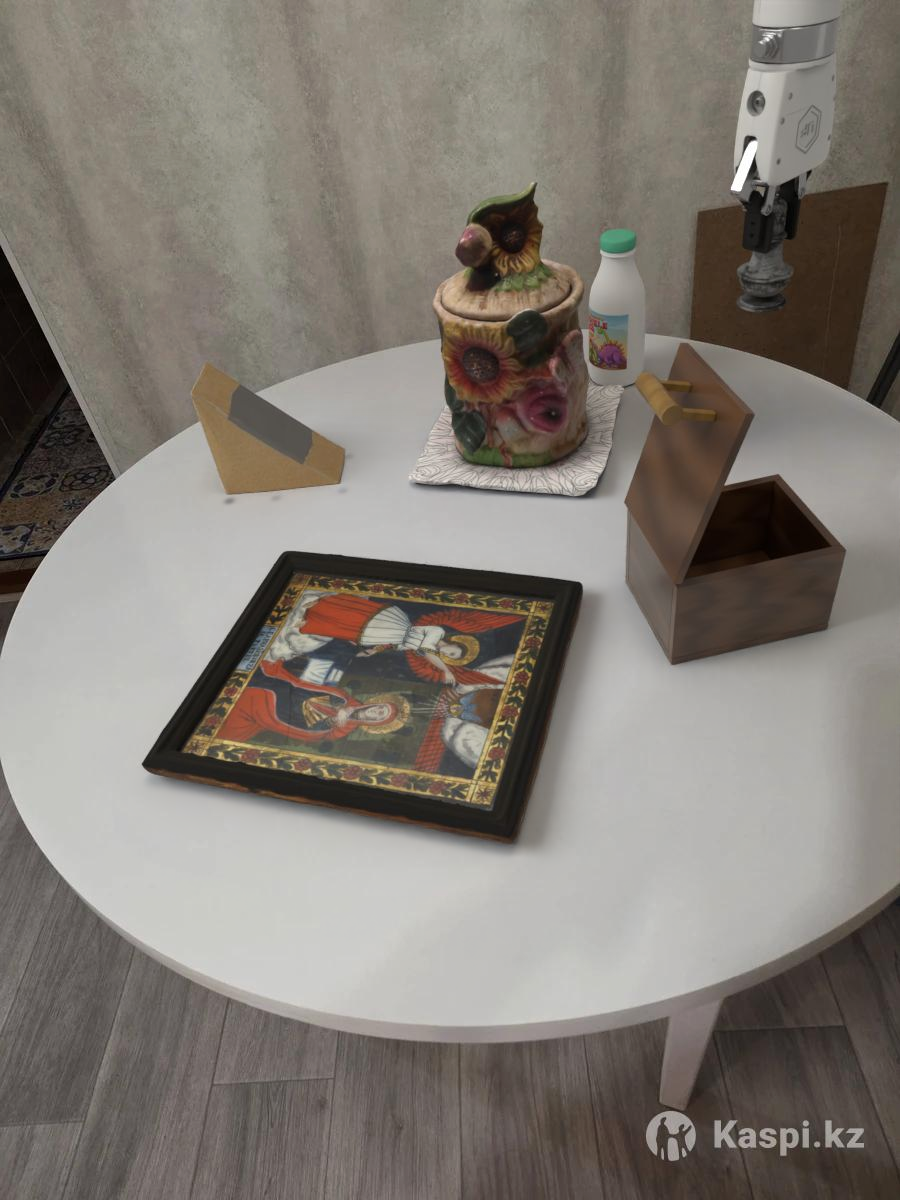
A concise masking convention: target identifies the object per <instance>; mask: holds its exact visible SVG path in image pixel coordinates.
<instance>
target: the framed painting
mask: <svg viewBox="0 0 900 1200" xmlns="http://www.w3.org/2000/svg"><path fill="white" fill-rule="evenodd" d="M583 594H584V585H583V583H582V582H581V581H576V580H569V579H564V578H563V579H562V578H555V577H548V576H540V575H531V574H523V573H522V574H521V573H515V572H505V571H498V570H497V571H496V570H487V569H476V568H466V567H457V566H449V565H436V564H429V563H417V562H406V561H398V560H397V561H396V560H387V559H378V558H370V557H369V558H368V557H361V556H360V557H359V556H349V555H343V554H337V553H335V554H334V553H320V552H310V551H299V550H285V551H283V552H282V553H280V555H279V557H278V558H277V559H276V561H275V562H274V564H273V565H272V566H271V569H269V571H268V573H267V574H266V575H265V578H264V579H263V580H262V582H261V584H260V585H259V586H258V588H257V590H256V591H255V592H254V594H253V595H252V597H251V599H250V600H249V602H248V603H247V604H246V606H245V608H244V609H243V611H242V612H241V614H240V615H239V616H238V617H237V619H236V621H235V623H234V624H233V626H232V627H231V629H230V630H229V631H228V633H227V635H226V636H225V638H224V639H223V641H222V642H221V643H220V645H219V647H218V648H217V649H216V651H215V652H214V654H213V655H212V657H211V659H210V660H209V661H208V663H207V665H206V666H205V668H204V669H203V671H202V672H201V673H200V675H199V677H198V678H197V680H196V681H195V682H194V684H193V685H192V687H191V688H190V690H189V691H188V693H187V694H186V696H185V697H184V698H183V701H181V703H180V704H179V706H178V707H177V709H176V710H175V711H174V714H173V715H172V716H171V718H170V719H169V721H168V722H167V723H166V725H165V726H164V727H163V729H162V730H161V732H160V733H159V735H158V736H157V738H156V740H155V742H154V744H153V745H152V746H151V748H150V749H149V751H148V753H147V755H146V756H145V758H144V759H143V761H142V762H141V766H142V767H143V769H144V770H145V771H146V772H148V773H149V774H152V775H156V776H160V777H161V776H162V777H167V778H172V779H178V780H184V781H188V782H194V783H198V784H203V785H208V786H212V787H213V786H214V787H219V788H224V789H228V790H229V789H230V790H233V791H234V790H235V791H240V792H242V793H243V792H244V793H250V794H255V795H261V796H265V797H270V798H275V799H279V800H282V801H283V800H284V801H289V802H293V803H299V804H305V805H313V806H321V807H326V808H332V809H336V810H341V811H346V812H349V813H353V814H357V815H361V816H366V817H371V818H377V819H383V820H389V821H395V822H400V823H406V824H412V825H416V826H420V827H426V828H430V829H432V830H433V829H434V830H437V831H441V832H445V833H450V834H455V835H461V836H468V837H474V838H480V839H483V840H484V839H485V840H488V841H493V842H498V843H504V844H513V843H515V841H516V840H517V838H518V835H519V831H520V828H521V824H522V822H523V819H524V815H525V812H526V809H527V805H528V801H529V798H530V795H531V793H532V789H533V786H534V782H535V779H536V776H537V772H538V770H539V765H540V762H541V757H542V753H543V750H544V747H545V743H546V739H547V735H548V730H549V726H550V721H551V717H552V713H553V710H554V705H555V701H556V697H557V694H558V690H559V686H560V683H561V679H562V675H563V672H564V671H563V670H564V668H565V667H564V666H565V663H566V658H567V653H568V648H569V645H570V642H571V639H572V635H573V633H574V631H575V627H576V624H577V621H578V617H579V613H580V609H581V603H582V599H583Z"/></svg>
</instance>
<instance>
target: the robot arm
mask: <svg viewBox="0 0 900 1200" xmlns="http://www.w3.org/2000/svg"><path fill="white" fill-rule="evenodd" d="M842 7H843V0H753V10H752V23H751V31H750V43H749V53H748V66H749V67H748V68H747V73H746V77H745V82H744V86H743V91H742V95H741V101H740V105H739V106H740V107H739V112H738V118H737V125H736V131H735V132H736V133H735V143H734V152H733V174H734V179H733V181H732V184H731V187H730V189H729V195H730V196H732V197H734V198H735V199H737V200H739V202H740V203H741V209H742V211H743V212H744V221H743V231H742V240H741V241H742V242H741V247H742V248H743V250H747V251H752V252H753V251H755V252H759V253H764V254H766V253H768V252H770V250H771V245H772V237H773V229H774V221H775V213H772V212H771V210H772V206H773V201H774V196H775V191H776V190H777V192H778V194H777V195H776V196H778V197H779V198H781V199H783V200H784V201H785V202H786V203H787V213H786V221H785V228H784V231H786V232H787V237H786V238H785V239H784V240H788V241H792V240H794V239H795V238H796V237H797V233H798V225H799V218H800V211H801V206H802V205H801V203H802V198H803V197H805V194H806V190H807V182H808V180H809V178H810V176H811V174H812V172H813V169H815V168H816V167H818V166H820V165H821V164H822V163H824V162H825V161H826V159H828V156H829V153H830V149H831V143H832V135H833V129H834V128H833V125H834V118H835V107H836V94H837V77H838V76H837V74H838V72H837V70H838V69H837V67H838V65H837V52H836V46H837V40H838V33H839V26H840V19H841V13H842ZM757 187H760V188H764V191H763V195H762V193H761V192H760V190H757V189H758V188H757Z"/></svg>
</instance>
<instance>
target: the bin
mask: <svg viewBox="0 0 900 1200" xmlns="http://www.w3.org/2000/svg"><path fill="white" fill-rule="evenodd" d="M626 509H627V510H626V543H625V544H626V545H625V546H626V547H625V548H626V549H625V576H624V577H625V583H626V585H627V587H628V589H629V590H630V592H631V594H632V596H633V598H634V600H635V601H636V603H637V605H638V607H639V610H640V611H641V612H642V614H643V616H644V618H645V620H646V621H647V623H648V625H649V627H650V629H651V631H652V632H653V635H654V636H655V638H656V640H657V642H658V643H659V645H660V647H661V650H662V651H663V652H664V654H665V657H666V658H667V659H668V662H669V664H670V665H671V666H673V665H677V664H682V663H685V662H690V661H695V660H699V659H705V658H707V657H712V656H717V655H721V654H725V653H730V652H735V651H739V650H742V649H747V648H751V647H756V646H760V645H764V644H765V645H766V644H769V643H773V642H777V641H782V640H786V639H790V638H795V637H799V636H804V635H808V634H812V633H816V632H817V633H818V632H821V631H825V630H828V628H829V624H830V619H831V614H832V612H833V611H832V610H833V608H834V602H835V600H836V595H837V591H838V586H839V583H840V578H841V575H842V571H843V566H844V564H845V563H844V562H845V558H846V554H847V549H846V548H845V546H843V544H842V543H841V542H839V540H838V539H837V538H836V537H835V535H834V534H833V533H832V532H831V531H830V530H829V529H828V528H827V527H826V526H825V525H824V523H823V522H822V521H821V520H820V519H819V518H818V517H817V515H816V514H815V513H814V511H812V510H811V509H810V507H808V505H807V504H806V503H805V502H804V501H803V499H802V498H800V496H799V495H798V494H797V493H796V492H795V491H794V489H792V488H791V486H790V485H789V484H788V483H787V482H786V481H785V479H784V478H783V477H782V476H781V475H780V474H779V473H776V474H772V475H766V476H762V477H757V478H753V479H748V480H743V481H739V482H734V483H730V484H725V485H724V487H723V490H722V492H721V494H720V496H719V499H718V501H717V503H716V506H715V508H714V510H713V513H712V515H711V517H710V520H709V522H708V524H707V526H706V529H705V531H704V533H703V536H702V538H701V540H700V543H699V545H698V547H697V550H696V552H695V554H694V556H693V559H692V561H691V563H690V566H689V568H688V570H687V573H686V575H685V577H684V579H683V582H682V584H674V583H673V582H672V580H671V579H670V577H669V575H668V574H667V572H666V570H665V569H664V567H663V565H662V564H661V562H660V561H659V559H658V557H657V556H656V554H655V552H654V551H653V549H652V547H651V546H650V544H649V543H648V541H647V539H646V538H645V536H644V534H643V533H642V531H641V530H640V528H639V526H638V525H637V523H636V521H635V520H634V518H633V516H632V515H631V513H630V512H629V510H628V508H627V507H626Z"/></svg>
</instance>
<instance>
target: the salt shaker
mask: <svg viewBox="0 0 900 1200" xmlns="http://www.w3.org/2000/svg"><path fill="white" fill-rule="evenodd" d="M776 195H778V192H777V190H776V191H775V196H774V201H773V206H772V210H771V212H772V213H775V221H774V229H773V237H772V245H771V250H770V252H768V253H766V254H764V253H759V252H755V251H752V254H751V258H750V260H749V261H747V262H745V263H742V264H741V265H740V266H738V268H737V270H736V274H737V276H738V277H739V279H738V281H739V285H740V287H741V289H742V291H744V293H743V294H741V295H740V296H739V297H738V298H737V299H736V305H737V307H739V308H740V309H742V310H744V311H747V312H752V313H770V312H771V313H772V312H775V311H779V310H781V309H783V308H784V307H785V306H786V305H787V302H788V299H787V298H786V296H785V295H783V294H781V293H782V291H784V290H786V287H787V286H788V284H789V283H790V280H791V277H792V276H793V274H794V273H795V268H794V267H793V266H792V264H790V263H788V262H786V261H784V260H783V250H784V249H783V248H784V240H786V239H785V238H786V237H787V232H786V231H784V228H785V221H786V213H787V203H786V202H785V201H784V200H783V199H781V198H779V197H778V196H776Z"/></svg>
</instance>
